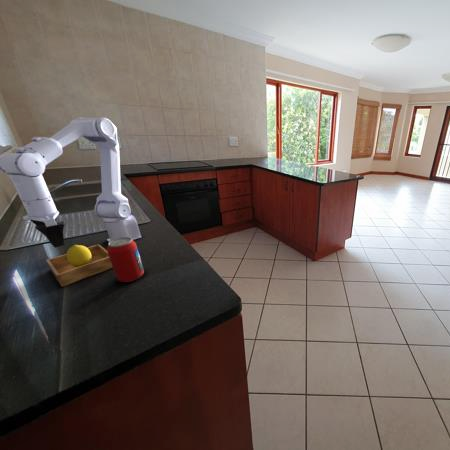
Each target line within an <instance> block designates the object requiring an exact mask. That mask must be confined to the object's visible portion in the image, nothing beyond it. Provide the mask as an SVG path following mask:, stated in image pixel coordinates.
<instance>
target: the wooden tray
mask: <svg viewBox="0 0 450 450" xmlns="http://www.w3.org/2000/svg"><path fill="white" fill-rule="evenodd" d="M86 248H88V249H89V251H90V252H91V255H92V259H91V262H90V263H89V264H86V265H83V266H80V267H75V266H72V265H71V264H70V263H69V262H68V260H67V253H65V254H61V255H58V256H54V257H52V258H47V259H45V261H46V264H47V265H48V267H49V270H50V271H51V273H52V275H53V276H54V277H55V279H56V281H57V282H58V283H59V284H60V286H61V287H65V286H67V285H70V284H73V283H76V282H79V281H80V280H81V281H82V280H83V279H86V278H89V277H91V276H94V275H96V274H99V273H102V272H105V271H108V270H110V269H113V266H112V264H111V261H110V258H109V255H108V252H107V249H106V248H105V247H103V246H102V245H101V244H99V243H98V244H95V245H90V246H88V247H86Z"/></svg>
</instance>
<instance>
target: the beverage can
mask: <svg viewBox="0 0 450 450" xmlns="http://www.w3.org/2000/svg"><path fill="white" fill-rule="evenodd" d="M106 250H107V252H108V255H109V258H110V261H111V264H112V266H113V268H112V269H113V272H114V274H115V277H116V279H117V281H118V282H122V283H131V282H134V281H136V280H138V279H140V277H142V276H143V275H144V274H145V269H144V266H143V263H142V258H141V256H140V252H139V249H138V246H137V243H136V242H135V240H132V239H131V238H129V237H123V238H118V239H114V240H112V241H110V242H108V243H107V248H106Z"/></svg>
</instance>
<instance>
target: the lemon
mask: <svg viewBox="0 0 450 450" xmlns="http://www.w3.org/2000/svg"><path fill="white" fill-rule="evenodd" d="M66 254H67V260H68V262H69V263H70V264H71V265H72V266H75V267H80V266H83V265H86V264H89V263H90V262H91V259H92V255H91V252H90V251H89V249H88V248H87V247H86V246H85V245H82V244H73V245H72V246H70V247H69V248H68V249H67V251H66Z"/></svg>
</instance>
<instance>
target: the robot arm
mask: <svg viewBox="0 0 450 450" xmlns="http://www.w3.org/2000/svg"><path fill="white" fill-rule="evenodd" d="M81 138H84V139H85V140H87V141H88V142H90V143H92V144H93V145H95V146H96V147H97V148H98V149H99V156H100V157H99V159H100V179H101V180H100V181H101V193H100V194H99V195H98V196H97V197H96V202H95V205H94V208H93V209H94V213H95V215H96V216H97V217H98V218H101V221H103V223H104V226H105V228H106V231H107V234H108V237H109V238H107V239H106V241H107V242H108V243H109V242H110V241H112V240H114V239H118V238H123V237H129V238H131V239H132V240H133V241H135V240H138V239H141V238H142V235H141V232H140V228H139V225H138V222H137V219H136V217H135V216H134V215H132V214H131V206H130V204H129V199H128V198H127V197H126V196H125V195H123V194H122V183H121V158H120V157H121V156H120V144H119V141H118V128H117V127H116V125H115V124H114V122H112V121H111V120H110V119H109V118H107V117H77V118H76V119H73V120H70V123H69V124H67V125H66V126H64V127H63V128H61V129H60V130H59V131H57V132H56V133H54V134H52V136H50V137H47V136H33V137H32V138H31V142H29V143H27V144H26V145H24V146H18V147H15V150H16V151H15V152H8V153H4V154H2V155H1V156H0V171H1V172H2V173H3V174H5V175H6V176H8V178H9V180H10V181H11V182H12V184H13V186H14V188H15V190H16V193H17V195H18V197H19V199H20V202H21V203H22V205H23V207H24V209H25V211H26V213H27V215H24V216H22V219H23V220H24V221H30V222H31V223H33V225H35V226H34V228H35V229H36V230H37V231H38V232H40V233H41V234H43V235H44V237H45V238H46V239H47V240H48V241H49V243H50V244H51V245H52V246H53V247H54V248H58V247H59V248H60V247H63V246H65V237H64V228H65V226H66V223H65V221H59V222H57V218H58V216H59V215H60V212H59V210H57V207H56V204H55V202H54V200H53V197H52V195H51V193H50V190H49V188H48V186H47V183H46V180H45V178H44V176H43V174H44V173H45V171H46V166H47V165H48V164H50V163H52V162H53V161H54V160H56V159H58V158H59V157H60V156H62V155H63V153H64V152H63V151H64V150H63V148H65V147H67V146H68V145H71V144H72V143H73V142H75V141H77V140H79V139H81Z"/></svg>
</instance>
